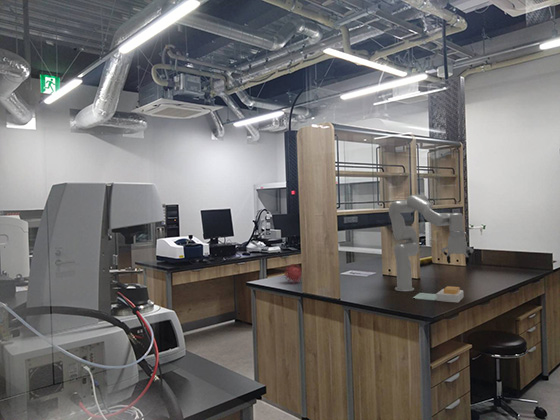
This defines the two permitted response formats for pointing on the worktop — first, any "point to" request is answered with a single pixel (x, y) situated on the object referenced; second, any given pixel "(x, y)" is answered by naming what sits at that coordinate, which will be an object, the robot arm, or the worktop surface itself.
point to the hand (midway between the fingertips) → (458, 263)
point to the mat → (425, 296)
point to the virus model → (293, 273)
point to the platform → (449, 296)
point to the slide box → (451, 290)
